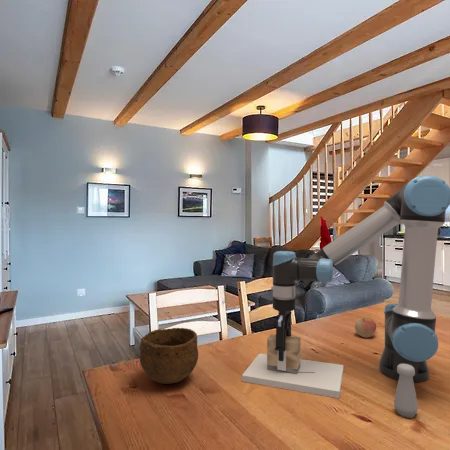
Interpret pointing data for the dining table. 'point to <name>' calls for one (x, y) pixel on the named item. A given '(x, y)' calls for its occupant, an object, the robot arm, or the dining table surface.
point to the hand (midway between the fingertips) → (283, 365)
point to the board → (298, 377)
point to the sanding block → (291, 354)
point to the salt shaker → (406, 392)
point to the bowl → (169, 354)
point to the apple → (365, 327)
